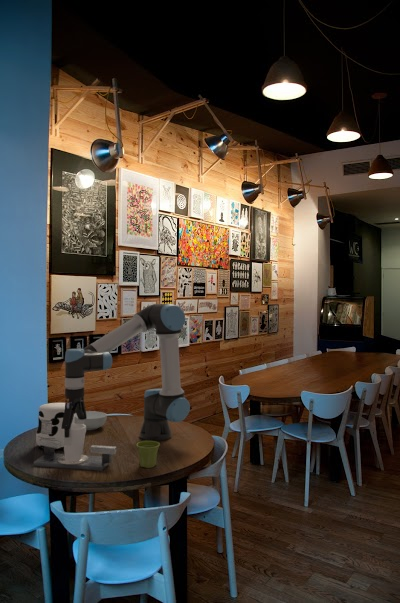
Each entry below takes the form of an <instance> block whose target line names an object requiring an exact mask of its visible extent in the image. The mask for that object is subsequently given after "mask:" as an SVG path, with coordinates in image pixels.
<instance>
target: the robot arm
mask: <svg viewBox="0 0 400 603" xmlns="http://www.w3.org/2000/svg"><path fill="white" fill-rule="evenodd" d="M185 323H186V314H185V312H184V310H183V308H181V307H180V306H178V305H176V304H172V303H154V304H153V303H152V304H151V305H148V306H147V307H145V308H143V309H141V310H139V311H138V312H137V313H134V314H133V315H132V318H131V319H129V320H127V321H126V322H124V323H123V324H121V325H119V326H118V327H116V328H115V329H113V330H111V331H110V332H108V333H106V334H105V335H103V336H102V337H100V338H98V339H97V340H95V341H94V342H92V343H90V344H89V345H87V346H85V347H84V348H69V349H67V350H66V351H65V355H64V373H65V375H64V387H65V389H64V397H65V398H66V399H68V402H64V403H65V411H64V416H63V422H62V427H61V428H62V429H64V445H68V446H71V444H72V428H71V424H72V420H73V417H74V414H75V413H76V414H77V416H78V420H77V424H84V419H86V418H87V417H86V411H87V410H86V406H85V400H84V399H85V388H84V387H85V382H86V379H85V373H88V372H96V371H102V372H103V371H106V370H110V369H111V368H112V365H113V357H112V354H111V353H110V352H112V351H113V350H115V349H117V348H118V347H119V346H122V345H123V344H124V343H127V342H128V341H130V340H131V339H133V337H136V336H137V335H138V334H140V333H146V332H147V331H150V330H152V329H155V335H156V336H157V337H158V338H159V350H160V351H159V353H160V356H159V357H160V369H161V370H160V371H161V388H152V389H151V388H150V389H146V390H145V391H144V393H143V394H144V396H143V422H142V425H141V428H140V430H139V437H140V438H141V439H142V440H144V441H156V442H159V441H166V440H169V439H170V438H171V437H172V430H171V427H170V423H169V422H171V423H180V422H182V421H184V420H185V419H186V418H187V417H188V415H189V413H190V409H191V404H190V402H189V400H188V399H187V398H185V396H186V395H185V390H184V389H183V388H182V387H181V386H182V384H181V367H180V364H181V363H180V348H179V346H180V345H179V344H180V343H179V336H180V335H181V334H182V328H183V327H184V325H185ZM66 425H67V426H66Z"/></svg>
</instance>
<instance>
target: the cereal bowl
mask: <svg viewBox="0 0 400 603" xmlns="http://www.w3.org/2000/svg"><path fill="white" fill-rule="evenodd" d="M86 417H87V418H86V419H84V425H86V431H94V430H97V429H98V428H99V429H100V427H102V426H104V425H105V423H106V422H107V420H108V419H107V418H108V414H107V413H105V412H103V411H95V410H93V411H92V410H88V411H87V410H86ZM77 420H78V416H77V414H76V413H75V420H74V424H77Z"/></svg>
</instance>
